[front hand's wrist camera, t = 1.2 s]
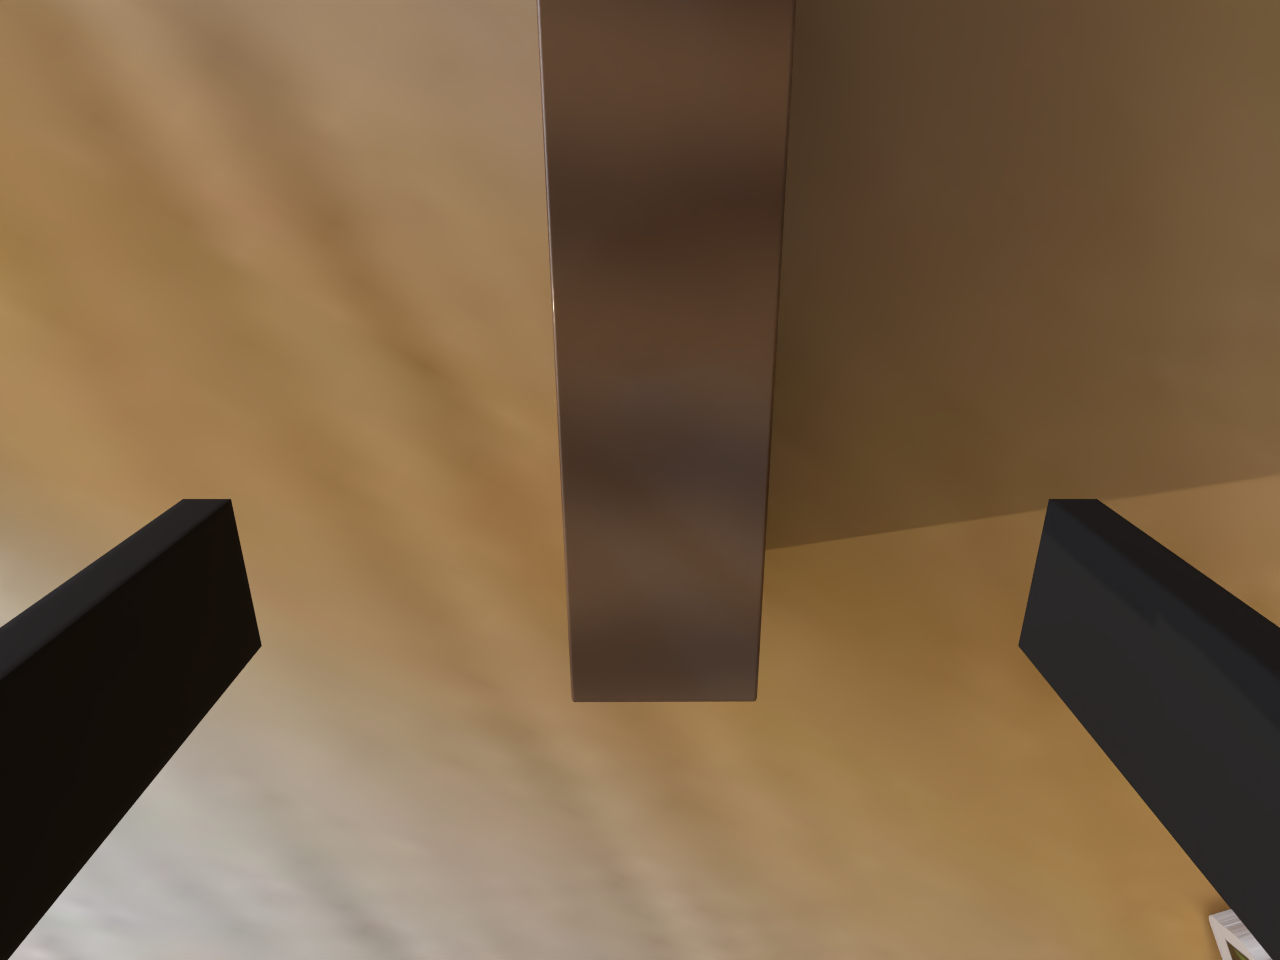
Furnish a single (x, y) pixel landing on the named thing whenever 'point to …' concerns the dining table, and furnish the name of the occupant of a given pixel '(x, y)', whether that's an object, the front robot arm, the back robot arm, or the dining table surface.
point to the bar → (665, 331)
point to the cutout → (1235, 938)
